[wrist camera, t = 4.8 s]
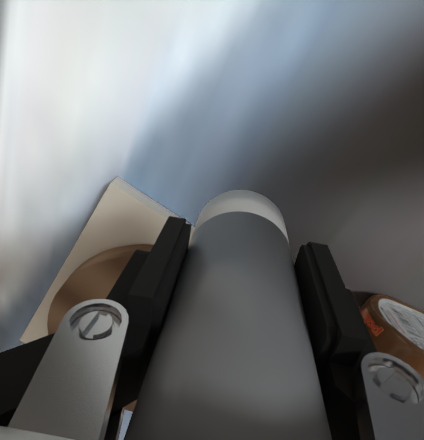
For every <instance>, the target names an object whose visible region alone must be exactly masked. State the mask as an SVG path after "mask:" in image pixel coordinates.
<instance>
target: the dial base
mask: <svg viewBox="0 0 424 440" xmlns="http://www.w3.org/2000/svg"><path fill="white" fill-rule="evenodd" d="M169 216H173V217H178V218H180V217H179V216H177V215H176V214H174V213H173V212H171V211H169V210H168V209H166V208H165V207H163V206H162V205H160V204H159V203H157V202H156V201H154V200H153V199H151V198H149V197H148V196H146V195H145V194H143V193H142V192H140V191H139V190H137V189H136V188H134V187H133V186H131V185H129V184H128V183H126V182H125V181H123V180H122V179H120V178H119V177H116V178H115V179H114V180H113V181H112V182H111V183H110V184H109V186H108V188H107V190H106V191H105V193H104V195H103V197H102V198H101V200H100V202H99V204H98V205H97V207H96V209H95V210H94V212H93V214H92V216H91V217H90V219H89V221H88V223H87V224H86V226H85V228H84V229H83V231H82V233H81V235H80V236H79V238H78V240H77V242H76V243H75V245H74V247H73V249H72V250H71V252H70V254H69V255H68V257H67V259H66V261H65V262H64V264H63V266H62V268H61V269H60V271H59V273H58V275H57V276H56V278H55V280H54V281H53V283H52V285H51V287H50V288H49V290H48V292H47V294H46V295H45V297H44V299H43V300H42V302H41V304H40V306H39V307H38V309H37V311H36V313H35V314H34V316H33V318H32V320H31V321H30V323H29V325H28V326H27V328H26V330H25V332H24V333H23V335H22V337H21V339H20V340H19V341H21V342H23V343H25V344H26V343H29V342H31V341H34V340H37V339H39V338H42V337H45V336H47V335H48V328H47V320H48V313H49V309H50V305H51V303H52V301H53V299H54V297H55V295H56V293H57V292H58V291H59V289H60V288H61V286H62V285H63V284H64V283H65V281H66V280H67V279H68V278H69V277H70V275H71V274H72V273H73V272H74V271H75V270H76V269H77V268H78V267H79V266H80V265H81V264H82V263H84V262H85V261H87V260H88V259H90V258H91V257H93V256H95V255H97V254H99V253H101V252H103V251H106V250H110V249H113V248H116V247H121V246H127V245H138V244H151V245H154V243H155V242H156V240H157V238H158V236H159V234H160V232H161V230H162V228H163V226H164V225H165V223H166V221H167V219H168V217H169ZM186 223H187V224H189V223H188V222H186ZM194 229H195V227H194V226H193V225H191V233H190V240H189V244H190V241H191V238H192V235H193V232H194Z"/></svg>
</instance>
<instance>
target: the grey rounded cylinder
mask: <svg viewBox="0 0 424 440" xmlns="http://www.w3.org/2000/svg"><path fill="white" fill-rule="evenodd" d="M124 440H332V438H331V433H330V428H329V424H328V419H327V415H326V410H325V406H324V401H323V396H322V392H321V387H320V383H319V378H318V374H317V369H316V364H315V360H314V355H313V351H312V346H311V341H310V337H309V332H308V328H307V323H306V319H305V314H304V309H303V305H302V300H301V296H300V291H299V287H298V282H297V277H296V273H295V268H294V264H293V259H292V255H291V250H290V245H289V241H288V236H287V232H286V227H285V223H284V219H283V216H282V214H281V212H280V210H279V209H278V207H277V206H276V205H275V204H274V203H273V202H272V201H271V200H269V199H268V198H267V197H265V196H263V195H261V194H259V193H256V192H253V191H248V190H232V191H227V192H224V193H221V194H219V195H217V196H215V197H214V198H212V199H211V200H210V201H209V202H208V203H207V204H206V205H205V206H204V207H203V209H202V210H201V212H200V214H199V217H198V220H197V223H196V226H195V229H194V232H193V235H192V238H191V241H190V244H189V247H188V251H187V254H186V257H185V260H184V263H183V266H182V269H181V272H180V275H179V278H178V281H177V284H176V287H175V290H174V293H173V296H172V299H171V302H170V305H169V308H168V311H167V314H166V317H165V320H164V323H163V326H162V329H161V332H160V335H159V337H158V339H157V342H156V345H155V348H154V351H153V354H152V357H151V360H150V363H149V366H148V369H147V372H146V375H145V378H144V381H143V384H142V387H141V390H140V393H139V396H138V399H137V402H136V405H135V408H134V411H133V414H132V417H131V420H130V423H129V426H128V429H127V431H126V434H125V437H124Z"/></svg>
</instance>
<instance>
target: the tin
mask: <svg viewBox="0 0 424 440" xmlns="http://www.w3.org/2000/svg"><path fill="white" fill-rule="evenodd" d="M359 312H360V314H361V316H362V318H363V321H364V323H365V325H366V327H367V330H368V332H369V334H370V336H371V339H372V341H373V343H374V345H375V348H376V350H377V352H380V353H385V354H389V355H391V356H394V357H396V358H398V359H400V360H402V361H403V362H405V363H407V364H408V365H409V366H411V367H412V368H413V369H414V370H415V371H417V372H418V374H419V375H420V376H421V377H422V378H423V379H424V312H422V311H420V310H418V309H416V308H414V307H412V306H410V305H407V304H405V303H403V302H401V301H399V300H396V299H394V298H392V297H389V296H386V295H381V294H375V295H372V296H371V297H370V298H369V299H368V300H367V301H366V302H365V303H364V304H363V305H362V307H361V308H360V309H359Z"/></svg>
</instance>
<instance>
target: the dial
mask: <svg viewBox="0 0 424 440" xmlns="http://www.w3.org/2000/svg"><path fill="white" fill-rule="evenodd" d="M152 247H153V245H151V244H138V245H127V246H121V247H116V248H113V249H110V250H106V251H103V252H101V253H99V254H97V255H95V256H93V257H91V258H90V259H88V260H87V261H85V262H84V263H82V264H81V265H80V266H79V267H78V268H77V269H76V270H75V271H74V272H73V273H72V274H71V275H70V277H69V278H68V279H67V280H66V281H65V283H64V284H63V285H62V286H61V288H60V289H59V291H58V292H57V293H56V295H55V297H54V299H53V301H52V303H51V305H50V309H49V313H48V320H47V328H48V335H50V334H53V333H55V332H56V331H57V329H58V327H59V325H60V323H61V321H62V319H63V317H64V316H65V314H66V313H67V312H68V311H69V310H70V309H71V308H73V307H74V306H75V305H77V304H80V303H82V302H84V301H88V300H93V299H106V297H107V296H108V294H109V292H110V291H111V289H112V288H113V286H114V284H115V283H116V281H117V279H118V278H119V276H120V275H121V273H122V271H123V270H124V268H125V266H126V265H127V263H128V261H129V260H130V258H131V257H132V255H133V253H134V252H135V251H136V250H137V249H139V250H144V251H149V252H150V251H151V249H152ZM136 402H137V400H135V401H134V402H132V403H130V404H128V405H127V406H125V407H124V409H126V410H129V411H134V408H135V405H136Z"/></svg>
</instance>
